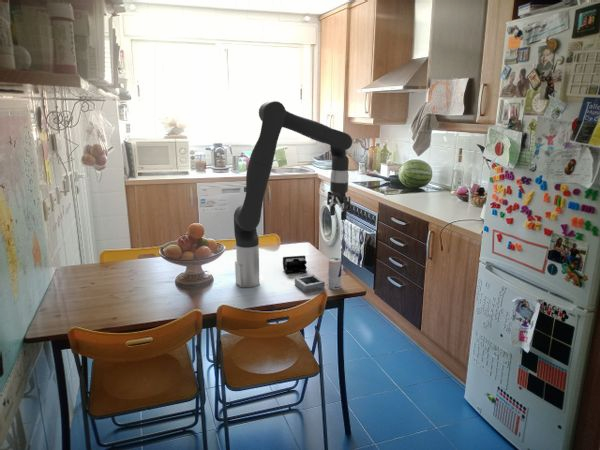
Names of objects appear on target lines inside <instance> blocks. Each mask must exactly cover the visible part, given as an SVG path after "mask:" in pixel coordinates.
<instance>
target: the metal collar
mask: <svg viewBox="0 0 600 450" xmlns="http://www.w3.org/2000/svg"><path fill="white" fill-rule="evenodd" d="M325 284H326V282H325V281H324V280H322V279H321V278H319V277H318V276H316V275H315V274H310V275H304V276H300V277H296V278H294V286H295V287H297V289H299V290H301V291H302V292H303V293H304V294H308V293H312V292H316V291H321V290H325Z"/></svg>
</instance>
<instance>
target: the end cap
mask: <svg viewBox="0 0 600 450" xmlns="http://www.w3.org/2000/svg"><path fill="white" fill-rule="evenodd" d="M306 259H307V257H306V255H292V256H291V255H290V256H283V257H282V268H283V270H284V273H285V274H286V275H296V274H297V275H298V274H306V273H307V268H308V267H307V266H306V265H307V263H308V262H307V260H306Z"/></svg>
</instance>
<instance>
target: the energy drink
mask: <svg viewBox="0 0 600 450" xmlns="http://www.w3.org/2000/svg"><path fill="white" fill-rule="evenodd" d="M342 263H343V261H342V259H341V258H339V257H332V258H329V260H328V273H327V274H328V275H327V276H328V277H327V287H328V289H330V290H332V291H333V290H334V291H335V290H340V289H341V288H342V273H343V272H342V270H343V269H342V267H343V264H342Z"/></svg>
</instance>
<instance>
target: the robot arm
mask: <svg viewBox="0 0 600 450" xmlns="http://www.w3.org/2000/svg"><path fill="white" fill-rule="evenodd" d="M258 116H259V119H260V120H261V128H260V133H259V137H258V139H257V141H256V143H255V145H254V147H253V149H252V151H251V154H250V157H249V160H248V164H247V169H246V176H245V177H246V178H245V179H246V180H245V184H246V185H245V197H244V201H243V203H242V204H241V205H239V206H238V207H237V208H236V209H235V210H234V213H233V229H234V232H233V233H234V238H235V249H236V250H235V251H236V252H235V254H236V255H235V256H236V261H235V262H234V269H235V271H234V272H235V274H234V275H235V283H236V285H238V286H239V288H254V287H256V286H259V284H260V278H261V277H260V246H259V245H260V239H259V236H258V232H257V228H258V226H259V224H260V222H261V217H262V216H261V215H262V210H263V202H264V197H265V194H266V190H267V188H268V183H269V181H270V180H269V179H270V176H271V172H272V168H273V163H274V159H275V155H276V150H277V144H278V141H279V137H280V134H281V131H282V128H283V129H287V130H290V131H293V132H295V133H297V134H300V135H301V136H304V137H307V138H309V139H311V140H314V141H316V142H319V143H322V144H325V145H329V147H330V155H331V173H330V189H329V191H327V197H326V198H327V199H326V204H327V205H328V206H329V215H330V216H333V217H334V216H335V215H336V205H338V207H339V208H340V210H341V211H340V212H341V213H340V220H341V221H346V220H347V213H348V212H350V211H351V196H347V195H346V193H348V191H349V164H350V163H349V157H348V155H347V154H346V153H347V152H346V151H347V150H349V149H351V147H352V146H353V139H352V138H353V137H352V136H351V135H350V134H348V133H347V132H344V131H341V130H338V129H334V128H332V127H329V126H327V125H325V124H323V123H321V122H319V121H316V120H312V119H309V118H305V117H303V116H299V115H297V114H294V113H291V112H290V111H288V110H286V108H285V106H284V104H283V103H281V102H280V101H278V100H270V101H269V100H268V101H266V102H263V103H262V104H261V106H260V107H259V109H258Z"/></svg>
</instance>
